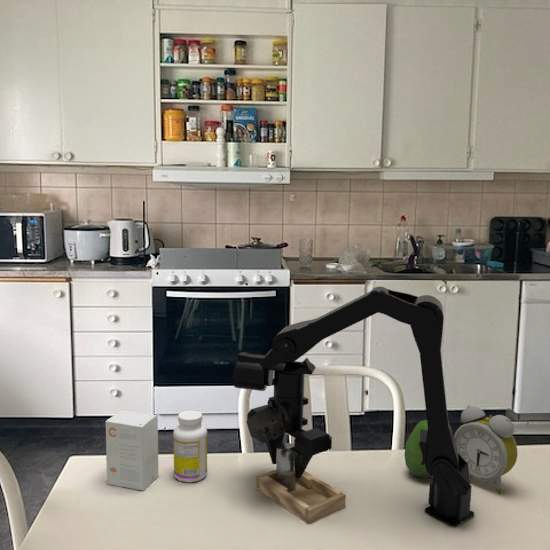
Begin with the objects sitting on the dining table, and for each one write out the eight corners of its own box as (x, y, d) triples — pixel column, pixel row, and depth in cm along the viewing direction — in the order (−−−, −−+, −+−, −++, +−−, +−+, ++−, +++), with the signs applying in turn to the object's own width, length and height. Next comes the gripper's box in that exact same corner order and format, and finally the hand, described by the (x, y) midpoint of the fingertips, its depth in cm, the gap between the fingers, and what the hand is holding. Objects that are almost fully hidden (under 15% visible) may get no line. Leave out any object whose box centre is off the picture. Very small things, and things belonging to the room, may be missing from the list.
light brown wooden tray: (345, 507, 111) (345, 494, 111) (308, 523, 105) (309, 510, 105) (291, 474, 123) (292, 463, 122) (256, 488, 117) (256, 476, 116)
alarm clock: (448, 475, 124) (454, 405, 122) (466, 465, 128) (472, 398, 126) (502, 498, 115) (509, 424, 113) (519, 487, 120) (526, 415, 117)
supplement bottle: (191, 464, 126) (191, 405, 124) (214, 474, 122) (214, 414, 120) (166, 476, 121) (166, 415, 119) (189, 487, 117) (189, 424, 115)
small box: (159, 476, 121) (158, 414, 119) (143, 491, 115) (142, 426, 113) (123, 469, 123) (122, 408, 121) (105, 484, 117) (104, 420, 115)
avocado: (446, 485, 120) (451, 428, 118) (406, 484, 120) (410, 427, 118) (436, 466, 128) (440, 412, 126) (399, 465, 128) (403, 411, 126)
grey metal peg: (300, 487, 117) (302, 448, 115) (284, 494, 114) (285, 454, 113) (287, 479, 120) (288, 441, 118) (271, 485, 117) (272, 446, 116)
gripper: (225, 387, 116) (224, 463, 119) (288, 419, 102) (285, 505, 104) (270, 376, 123) (268, 448, 125) (335, 404, 109) (332, 485, 111)
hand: (286, 470), depth 116 cm, fingers open, 7 cm apart
